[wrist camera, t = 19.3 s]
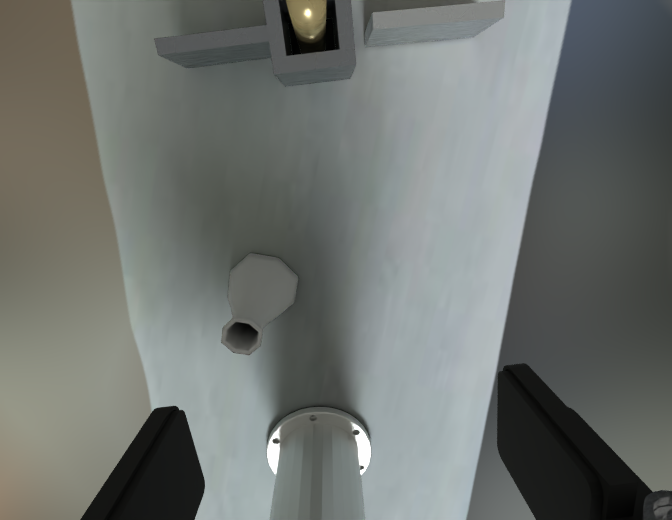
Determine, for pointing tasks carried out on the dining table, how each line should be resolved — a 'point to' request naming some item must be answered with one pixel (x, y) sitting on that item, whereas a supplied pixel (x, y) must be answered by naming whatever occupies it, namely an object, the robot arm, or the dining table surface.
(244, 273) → the flask
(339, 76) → the hinge base
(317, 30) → the hinge pin
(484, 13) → the loose leaf
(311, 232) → the dining table surface
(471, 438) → the dining table surface
